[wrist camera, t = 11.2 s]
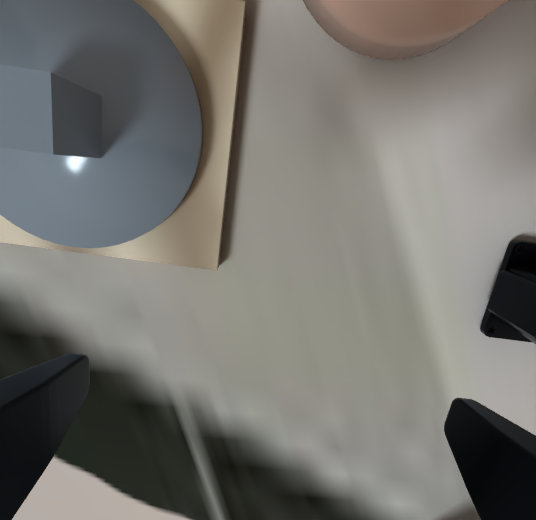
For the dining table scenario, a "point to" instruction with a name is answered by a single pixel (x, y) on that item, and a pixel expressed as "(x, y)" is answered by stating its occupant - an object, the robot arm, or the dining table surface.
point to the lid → (93, 121)
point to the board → (214, 137)
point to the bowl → (397, 23)
